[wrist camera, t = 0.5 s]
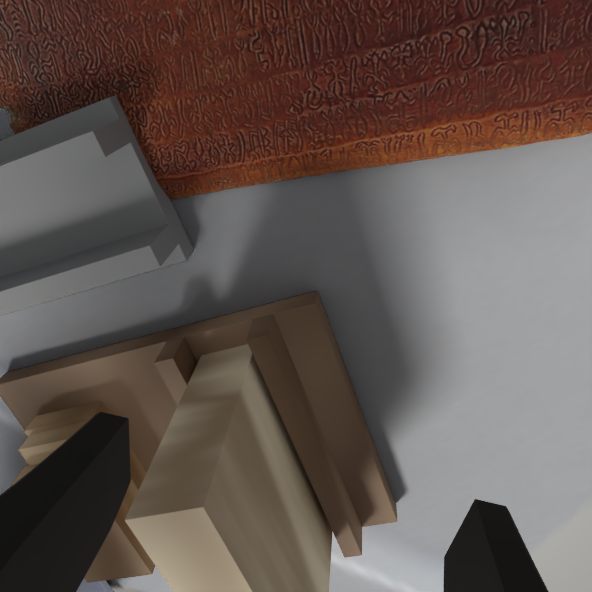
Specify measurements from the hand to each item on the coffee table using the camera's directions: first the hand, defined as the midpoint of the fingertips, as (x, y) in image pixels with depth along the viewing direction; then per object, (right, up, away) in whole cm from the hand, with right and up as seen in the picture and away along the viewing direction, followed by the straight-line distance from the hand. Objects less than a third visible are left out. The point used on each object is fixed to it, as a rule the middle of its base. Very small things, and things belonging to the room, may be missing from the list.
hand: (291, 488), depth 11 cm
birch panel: (-1, -2, +12) cm, 13 cm away
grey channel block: (-10, +7, +10) cm, 16 cm away
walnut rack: (-4, -3, +14) cm, 15 cm away
